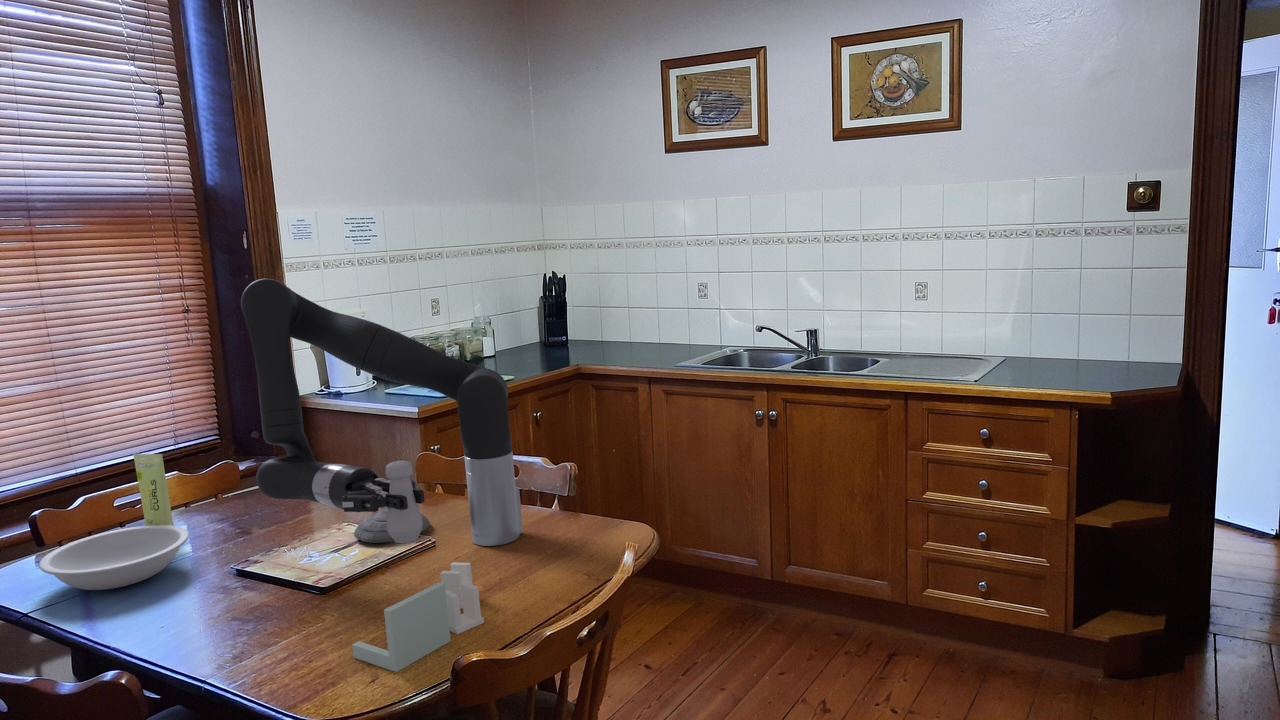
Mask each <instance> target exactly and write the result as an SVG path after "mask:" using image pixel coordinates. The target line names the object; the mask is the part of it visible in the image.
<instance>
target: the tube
mask: <svg viewBox="0 0 1280 720" xmlns="http://www.w3.org/2000/svg"><path fill="white" fill-rule="evenodd" d="M163 457H164V456H163V454H162V453H147V454H146V453H133V460H134V461H133V462H134V466H135V471H136V472H135V473H136V477H137V483H138V484H137V485H138V489H139V494H140V500H141V505H142V506H141V507H142V511H143V517H144V519H143V520H144V525H145V526H150V525H169V526H175V525H174V521H173V514H172V508H171V507H172V506H171V501H170V497H169V490H168V484H167V483H168V482H167V477H166V472H165V465H164V459H163Z"/></svg>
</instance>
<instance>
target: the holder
mask: <svg viewBox="0 0 1280 720" xmlns="http://www.w3.org/2000/svg"><path fill="white" fill-rule="evenodd" d="M383 615H384V625H385V631H386V640H387V641H386V642H387V649H384V648H381V647H378V646H376V645H372V644H369V643H366V642H363V641H360V640H358V641H357V642H355V643H352V645H351V646H352V647H351V648H352V654H353V655H352V656H353V658H354V659H357V660H359V661H363V662H366V663H368V664H370V665H371V664H372V665H374V666H378V667H379V668H380V667H381V668H383V669H386V670H389V671H391V672H395V673H397V672H399V671H401V670H402V669H405V668H407V667H408V666H410V665H412V664H413V663H415V662H416V661H417V662H418V660H420V659H422V658H424V657H425V656H428V655H429V654H431V653H432V652H434V651H436V650H437V649H440V648H441V647H443V646H445V645H446V644H449V643H450V642H451V639H452V638H451V631H450V629H449V619H448V609H447V599H446V589H445V584H444V583H441V581H440V582H438V583H437V582H436V583H435V584H433V585H431V586H429V587H427V588H425V589H422V590H421V591H419V592H417V593H415V594H412V595H411V596H408V597H407V598H405V599H403V600H401V601H399V602H397V603H395V604H393V605H390V606H389V607H386V608H385V609H383Z"/></svg>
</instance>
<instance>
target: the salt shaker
mask: <svg viewBox="0 0 1280 720" xmlns="http://www.w3.org/2000/svg"><path fill="white" fill-rule="evenodd" d="M413 472H414V471H413V465H412V463H411V462H410V461H408V460H395V461H391V462H389V463H388V464H386V466H385V476H386V479H388V480H390V489H389V494H391V495H403V496H406V497H407V503H408V508H407V509H405V510H399V509H395V508H391V507H390V508H388V515H387V531H388V532H389V534H390V535H391V537H392V538H393V539H394V542H395V544H397V543H398V544H404V543H405V544H407V543H411V542H414V541H418V538H419V537H420V534H421V533H420V531H421V529H422V524H423V521H422V517H421V514H422V513H421V511H420V508H419V503H416V500H415V496H414V493H413V486H412V483H411V479H412V478H411V476H412V475H413ZM420 513H421V514H420Z"/></svg>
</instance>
